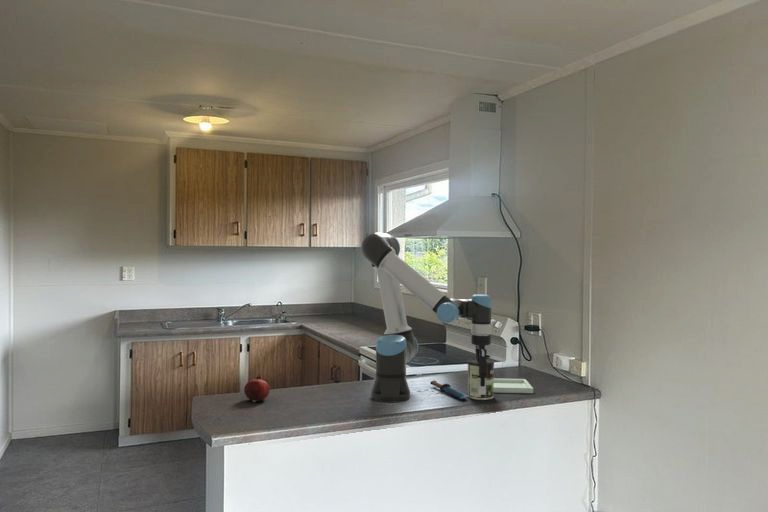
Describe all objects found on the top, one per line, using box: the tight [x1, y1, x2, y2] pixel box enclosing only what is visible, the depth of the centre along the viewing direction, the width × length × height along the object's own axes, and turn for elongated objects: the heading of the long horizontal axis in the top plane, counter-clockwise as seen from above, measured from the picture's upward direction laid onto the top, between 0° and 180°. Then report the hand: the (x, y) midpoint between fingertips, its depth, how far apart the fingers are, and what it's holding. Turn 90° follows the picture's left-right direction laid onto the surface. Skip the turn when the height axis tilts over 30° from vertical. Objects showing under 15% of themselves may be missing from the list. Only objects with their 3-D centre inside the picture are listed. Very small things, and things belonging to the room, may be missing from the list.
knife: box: [429, 380, 468, 400], centre depth 231 cm, size 24×3×5 cm
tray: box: [493, 377, 534, 394], centre depth 240 cm, size 16×16×2 cm
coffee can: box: [466, 358, 495, 401], centre depth 226 cm, size 10×10×14 cm
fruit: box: [243, 373, 270, 403], centre depth 217 cm, size 9×10×10 cm
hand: (480, 390), depth 226 cm, fingers closed on coffee can, 10 cm apart
